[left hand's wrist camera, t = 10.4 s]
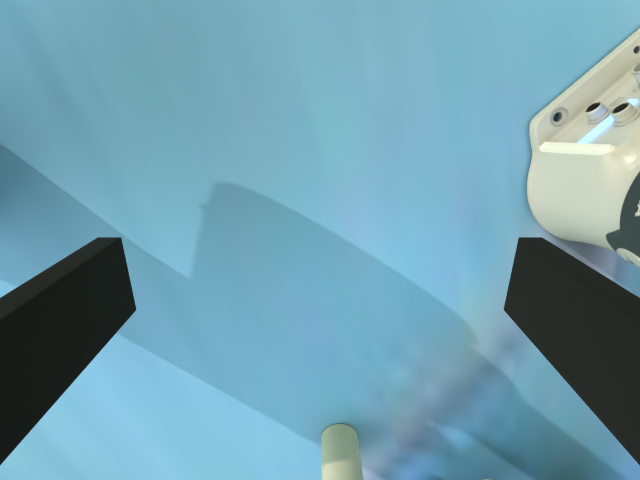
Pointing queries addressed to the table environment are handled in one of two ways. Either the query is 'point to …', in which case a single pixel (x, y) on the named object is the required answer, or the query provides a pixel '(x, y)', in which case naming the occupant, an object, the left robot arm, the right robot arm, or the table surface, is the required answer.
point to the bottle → (340, 453)
